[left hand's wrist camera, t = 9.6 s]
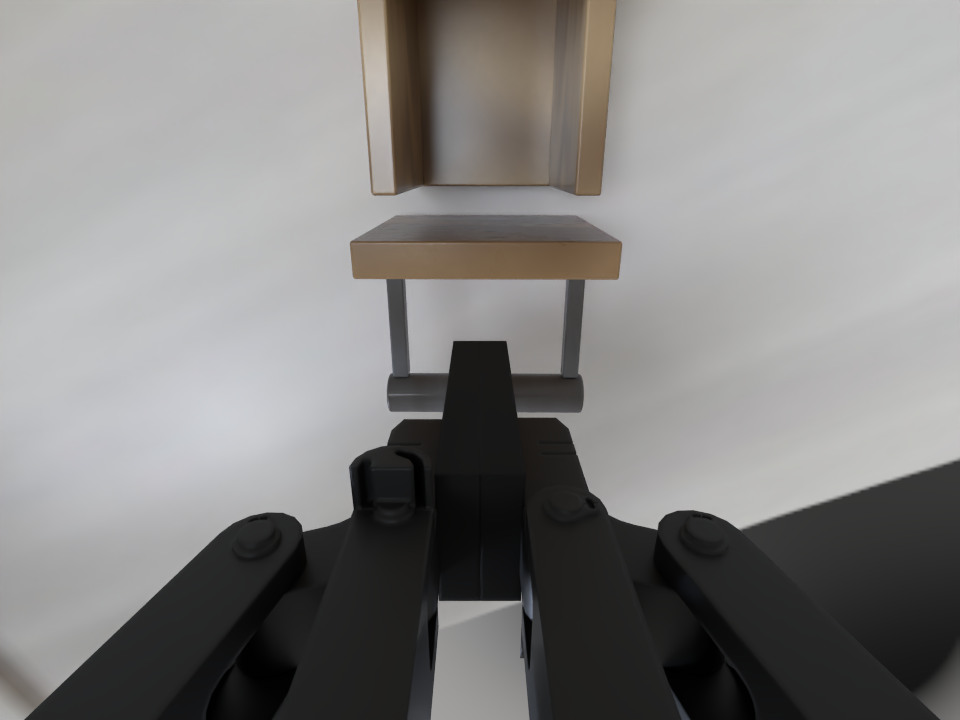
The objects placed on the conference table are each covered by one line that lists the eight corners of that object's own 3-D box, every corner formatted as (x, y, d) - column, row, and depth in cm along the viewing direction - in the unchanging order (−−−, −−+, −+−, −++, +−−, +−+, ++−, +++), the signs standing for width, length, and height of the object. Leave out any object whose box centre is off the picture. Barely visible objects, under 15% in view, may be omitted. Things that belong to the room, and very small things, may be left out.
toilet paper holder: (568, 358, 26) (602, 442, 18) (403, 357, 26) (367, 440, 18) (604, -195, 18) (693, -466, 10) (370, -194, 18) (284, -461, 11)
